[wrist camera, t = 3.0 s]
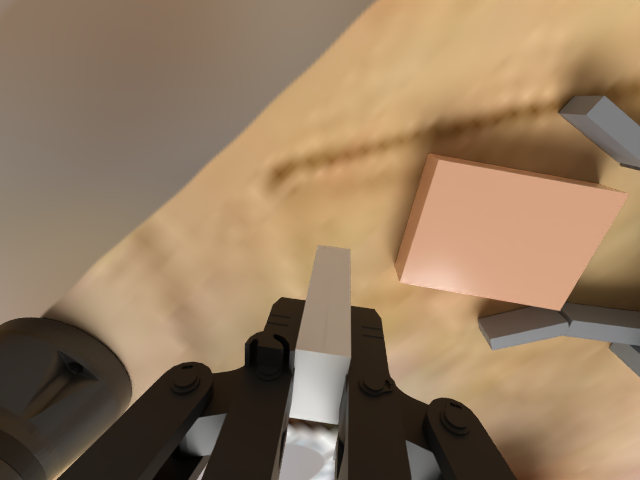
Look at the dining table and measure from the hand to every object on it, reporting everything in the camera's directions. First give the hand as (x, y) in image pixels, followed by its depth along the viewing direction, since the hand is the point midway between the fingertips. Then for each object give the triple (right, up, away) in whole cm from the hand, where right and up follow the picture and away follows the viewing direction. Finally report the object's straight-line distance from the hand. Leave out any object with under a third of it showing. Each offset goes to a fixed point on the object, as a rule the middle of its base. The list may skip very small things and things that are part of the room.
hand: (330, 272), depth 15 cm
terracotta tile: (+12, +3, +9) cm, 16 cm away
